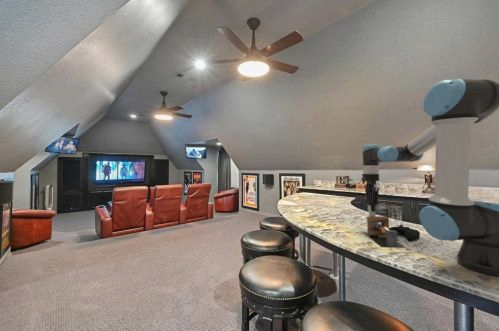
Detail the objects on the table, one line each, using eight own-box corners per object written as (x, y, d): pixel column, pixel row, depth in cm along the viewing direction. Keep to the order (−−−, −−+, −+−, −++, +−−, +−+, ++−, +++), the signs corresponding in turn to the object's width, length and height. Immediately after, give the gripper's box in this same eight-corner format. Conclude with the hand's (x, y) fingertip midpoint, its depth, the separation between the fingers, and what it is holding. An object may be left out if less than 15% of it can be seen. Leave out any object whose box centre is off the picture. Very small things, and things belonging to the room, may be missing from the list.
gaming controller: (383, 225, 117) (398, 220, 120) (385, 236, 117) (400, 231, 120) (409, 233, 103) (424, 227, 106) (411, 245, 104) (426, 239, 106)
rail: (405, 247, 96) (405, 231, 97) (381, 247, 98) (380, 230, 98) (382, 233, 117) (382, 219, 117) (362, 232, 119) (362, 219, 119)
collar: (389, 235, 109) (388, 217, 109) (370, 235, 111) (369, 217, 111) (386, 234, 112) (385, 216, 112) (367, 233, 114) (367, 216, 114)
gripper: (384, 173, 111) (385, 220, 111) (373, 173, 124) (374, 214, 124) (368, 174, 112) (369, 219, 112) (359, 173, 125) (360, 214, 125)
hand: (372, 217), depth 118 cm, fingers closed
